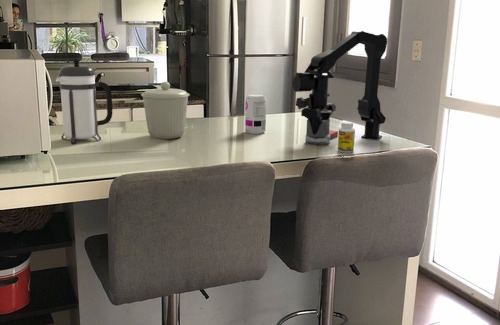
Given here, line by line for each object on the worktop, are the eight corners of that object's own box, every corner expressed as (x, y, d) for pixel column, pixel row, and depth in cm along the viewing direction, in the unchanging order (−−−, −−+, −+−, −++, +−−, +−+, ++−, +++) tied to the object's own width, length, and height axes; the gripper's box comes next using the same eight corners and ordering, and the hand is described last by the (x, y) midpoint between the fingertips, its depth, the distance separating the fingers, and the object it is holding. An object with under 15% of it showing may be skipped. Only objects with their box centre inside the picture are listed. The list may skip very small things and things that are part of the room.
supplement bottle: (335, 152, 190) (336, 123, 187) (340, 149, 194) (342, 120, 192) (350, 154, 187) (352, 124, 184) (355, 151, 192) (357, 122, 189)
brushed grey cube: (313, 133, 208) (314, 117, 206) (329, 134, 205) (329, 119, 203) (306, 135, 202) (306, 119, 201) (322, 137, 199) (323, 121, 198)
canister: (132, 138, 207) (130, 82, 201) (161, 130, 222) (160, 78, 217) (171, 143, 199) (170, 85, 193) (199, 135, 214) (198, 81, 209)
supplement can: (243, 133, 218) (243, 96, 215) (248, 129, 226) (248, 93, 223) (262, 134, 217) (263, 97, 213) (267, 131, 224) (268, 94, 221)
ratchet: (322, 134, 220) (323, 120, 218) (344, 136, 215) (344, 123, 214) (301, 143, 202) (301, 128, 201) (323, 146, 198) (324, 131, 197)
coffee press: (93, 145, 194) (88, 59, 186) (52, 143, 197) (45, 58, 189) (114, 136, 210) (110, 56, 203) (76, 133, 213) (71, 55, 206)
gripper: (310, 86, 211) (308, 126, 215) (288, 91, 195) (287, 134, 199) (337, 88, 206) (335, 129, 209) (317, 94, 190) (315, 138, 194)
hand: (318, 132), depth 203 cm, fingers closed on brushed grey cube, 6 cm apart
